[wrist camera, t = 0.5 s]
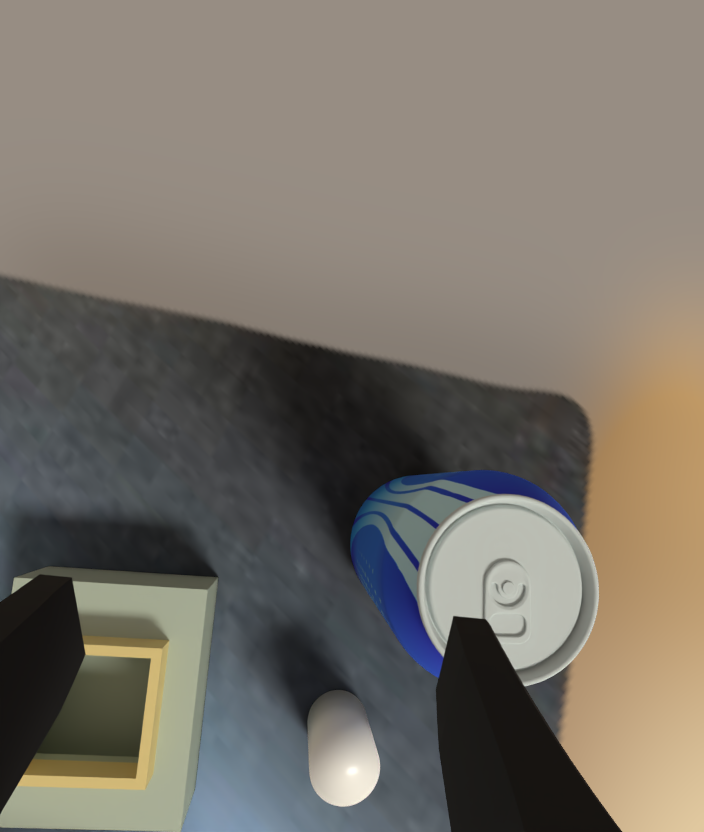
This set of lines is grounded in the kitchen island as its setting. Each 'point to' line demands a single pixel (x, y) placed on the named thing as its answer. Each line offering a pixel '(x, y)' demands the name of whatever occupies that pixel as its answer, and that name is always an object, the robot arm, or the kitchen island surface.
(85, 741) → the square stacking base
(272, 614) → the kitchen island surface
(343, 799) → the pellet
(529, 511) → the beer can
